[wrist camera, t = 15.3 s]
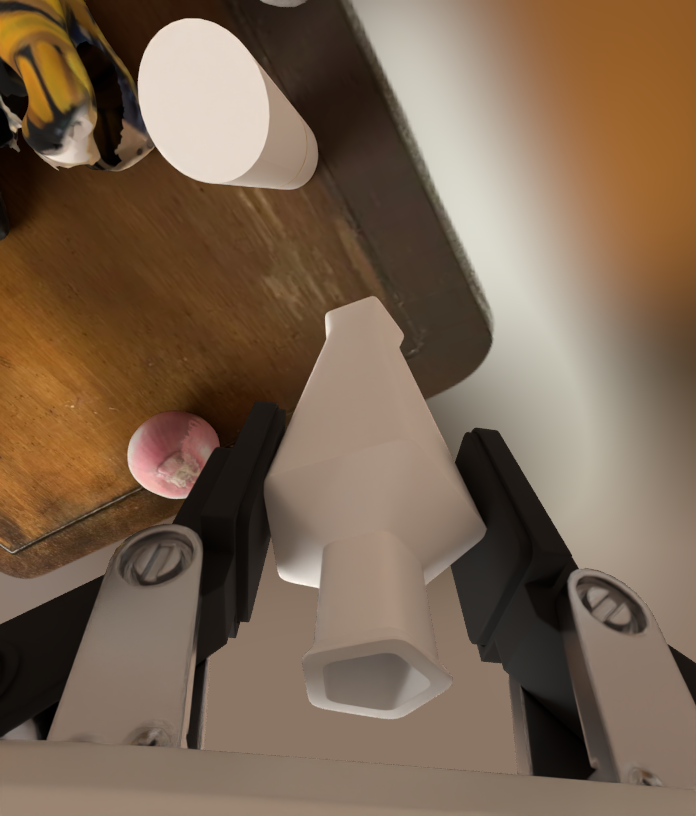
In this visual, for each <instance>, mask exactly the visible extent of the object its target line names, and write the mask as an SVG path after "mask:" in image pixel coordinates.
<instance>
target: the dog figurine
mask: <svg viewBox="0 0 696 816" xmlns="http://www.w3.org/2000/svg"><path fill="white" fill-rule="evenodd" d="M26 95H28V97H29V103H28V108H27V112H26V114H25V116H24V118H23V121H21V120H20V118H19V117H18V116H17V115H18V114H19V112H20V110H21V107H22V105H23V102H24V99H25V97H26ZM21 127H22V133H23V137H24V139H25V140H26V142H27V143H28V145H29V146H30V147H32V148H33V149H34V151H35V152H36V153H37V154H38V155H39V156H40V157H41V158H42V159H43V160H45V161H46V162H47V163H49V164H50V165H51V166H53V167H54V168H55V169H57V168H56V167H57V166H62V167H66V168H70V167H73V166H76V165H80V164H84V165H86V166H87V167H89V168H90V169H93V170H102V171H105V170H108V171H121V170H124V169H126V168H129V167H131V166H133V165H134V164H136V163H137V162H138V161H140V160H141V159H142V158H144V157H145V156H146V155H147V154H148V153H149V152H150V151H152V150H153V149H154V147H155V144H154V142H153V140H152V139H151V137H150V135H149V133H148V131H147V129H146V126H145V123H144V120H143V117H142V114H141V109H140V104H139V99H138V89H137V86H136V84H135V82H134V81H133V79H132V77H131V75H130V73H129V71H128V69H127V68H126V67H125V65H124V64H123V62H122V60H121V59H120V58H119V57H118V56H117V55H116V53H115V52H114V51H113V49H112V48H111V46H110V45H109V43H108V42H107V40H106V39H105V37H104V35H103V34H102V32H101V31H100V29H99V27H98V25H97V24H96V22H95V20H94V18H93V16H92V15H91V13H90V11H89V9H88V7H87V5H86V4H85V2H84V0H0V148H4V147H6V146H9V147H10V148H12V147H13V148H14V149H15V150H17V151H18V152H19V151H20V149H19V148H18V146H17V143H16V142H17V140H18V128H21ZM57 170H58V169H57ZM9 230H10V222H9V217H8V213H7V209H6V205H5V203H4V200H3V196H2V193H1V191H0V240H2V239H4V238H5V237H6V236H7V235H8V233H9Z"/></svg>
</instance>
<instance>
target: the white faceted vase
mask: <svg viewBox="0 0 696 816" xmlns="http://www.w3.org/2000/svg"><path fill="white" fill-rule="evenodd" d="M325 325H326V342H325V344H324V346H323V348H322V351H321V353H320V355H319V357H318V360H317V362H316V364H315V366H314V369H313V371H312V373H311V375H310V378H309V380H308V382H307V384H306V387H305V389H304V391H303V393H302V396H301V398H300V400H299V402H298V405H297V407H296V409H295V411H294V414H293V416H292V418H291V421H290V423H289V425H288V427H287V430H286V432H285V434H284V436H283V439H282V441H281V443H280V445H279V448H278V450H277V452H276V454H275V457H274V459H273V461H272V463H271V466H270V468H269V470H268V472H267V475H266V477H265V480H264V499H265V505H266V510H267V516H268V521H269V527H270V532H271V538H272V543H273V548H274V554H275V559H276V565H277V570H278V574H279V576H280V577H281V578H282V579H283V580H285V581H288V582H292V583H297V584H302V585H306V586H312V587H316V588H319V595H318V605H317V616H316V626H315V637H314V646H313V647H312V648H311V649H309V650H308V651H307V652H306V653H305V655H304V656H303V660H302V665H303V671H304V677H305V683H306V689H307V695H308V698H309V700H310V703H311V704H313V705H314V706H316V707H319V708H323V709H327V710H333V711H339V712H346V713H351V714H358V715H364V716H370V717H376V718H382V719H396V718H401V717H403V716H405V715H407V714H409V713H410V712H412V711H414V710H415V709H417V708H418V707H420V706H422V705H423V704H425V703H427V702H428V701H430V700H431V699H433V698H435V697H436V696H438V695H439V694H441V693H443V692H444V691H446V690H447V689H448V688H449V687H450V686H451V685H452V681H453V677H452V676H451V675H450V673H449V672H448V671H447V669H446V668H445V667H444V666H443V665H442V664H441V663H440V662H439V660H438V654H437V649H436V642H435V636H434V631H433V625H432V619H431V614H430V608H429V602H428V597H427V591H426V585H427V584H428V583H429V582H430V581H431V580H433V579H434V578H435V577H436V576H437V575H439V574H440V573H441V572H442V571H443V570H445V569H446V568H447V567H448V566H450V565H451V564H452V563H453V562H455V561H456V560H457V559H458V558H460V557H461V556H462V555H463V554H464V553H466V552H467V551H468V550H469V549H471V548H472V547H473V546H474V545H475V544H477V543H478V542H479V541H480V540H482V538H483V537H484V536H485V533H486V530H487V528H486V526H485V524H484V522H483V520H482V518H481V516H480V514H479V512H478V510H477V508H476V506H475V503H474V501H473V499H472V497H471V495H470V493H469V491H468V489H467V487H466V485H465V483H464V481H463V479H462V477H461V475H460V473H459V470H458V468H457V466H456V464H455V462H454V460H453V458H452V456H451V454H450V452H449V450H448V448H447V446H446V444H445V442H444V439H443V437H442V435H441V433H440V431H439V429H438V427H437V425H436V423H435V421H434V419H433V417H432V415H431V413H430V411H429V408H428V406H427V405H426V402H425V400H424V398H423V396H422V394H421V392H420V390H419V388H418V386H417V384H416V382H415V380H414V377H413V375H412V373H411V371H410V369H409V367H408V365H407V363H406V361H405V359H404V357H403V355H402V353H401V351H400V349H399V347H400V345H401V343H402V340H403V338H404V334H403V332H402V331H401V330H400V328H399V327H398V325H397V324H396V323H395V321H394V320H393V319H392V317H391V316H390V314H389V313H388V312H387V310H386V309H385V308H384V306H383V305H382V303H381V302H380V301H379V299H378V298H376V297H374V296H371V297H368V298H365V299H362V300H359V301H357V302H354V303H351V304H348V305H345V306H343V307H340V308H337V309H334V310H332V311H329V312H327V314H326V315H325Z"/></svg>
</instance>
